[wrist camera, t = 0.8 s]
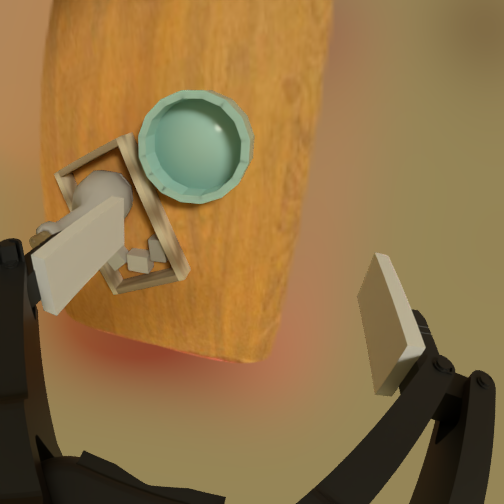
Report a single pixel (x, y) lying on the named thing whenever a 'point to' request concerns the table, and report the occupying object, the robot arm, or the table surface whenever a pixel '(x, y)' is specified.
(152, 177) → the bowl
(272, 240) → the table surface
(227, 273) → the table surface
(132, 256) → the pebble
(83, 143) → the table surface
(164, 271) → the tray
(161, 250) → the pebble
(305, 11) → the table surface
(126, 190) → the potion bottle
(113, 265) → the grey block
